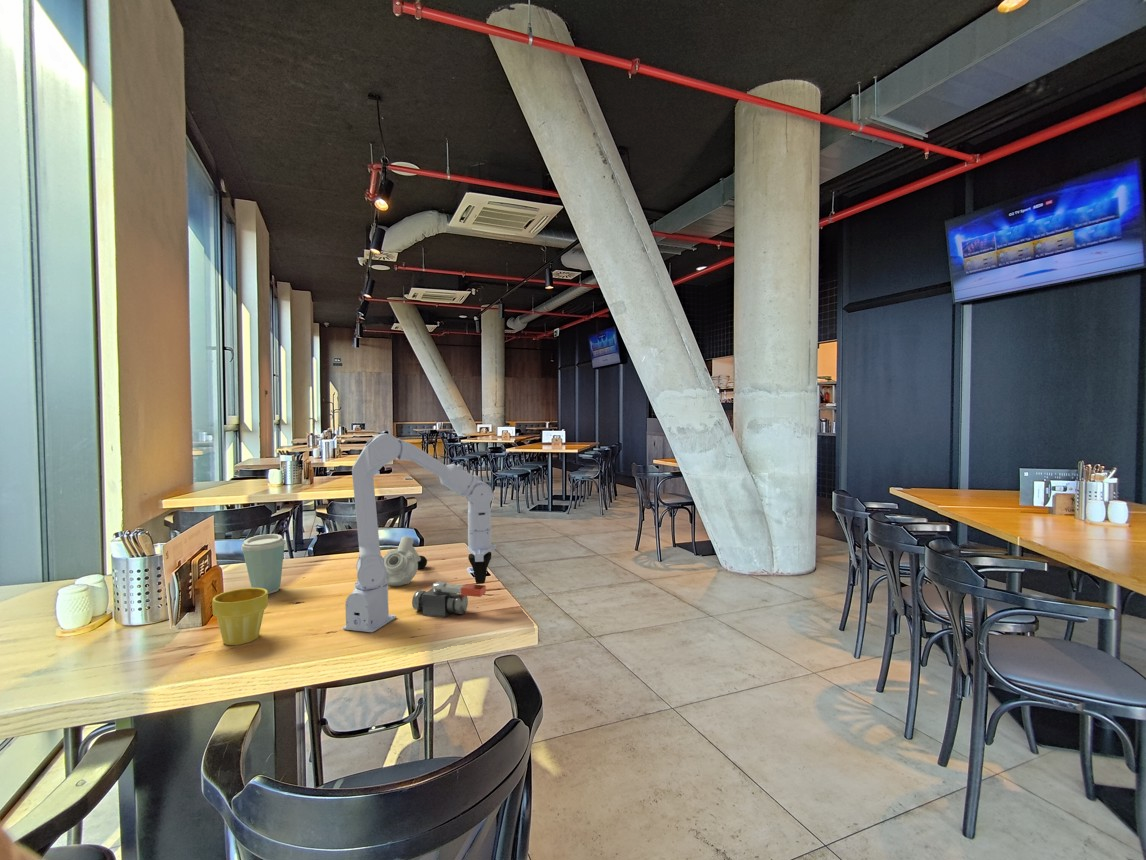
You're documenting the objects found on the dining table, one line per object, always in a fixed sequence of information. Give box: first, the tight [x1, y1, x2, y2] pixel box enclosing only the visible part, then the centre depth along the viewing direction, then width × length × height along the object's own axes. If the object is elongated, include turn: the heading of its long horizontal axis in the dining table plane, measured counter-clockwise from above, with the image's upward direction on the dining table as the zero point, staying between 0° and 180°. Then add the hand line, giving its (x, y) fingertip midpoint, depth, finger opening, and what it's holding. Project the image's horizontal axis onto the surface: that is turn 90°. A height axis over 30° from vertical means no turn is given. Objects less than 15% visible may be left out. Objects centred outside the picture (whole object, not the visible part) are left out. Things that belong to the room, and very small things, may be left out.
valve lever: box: [432, 580, 487, 598], centre depth 132 cm, size 13×3×2 cm, turn 74°
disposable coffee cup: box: [240, 533, 286, 595], centre depth 150 cm, size 11×11×15 cm
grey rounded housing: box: [382, 536, 428, 587], centre depth 162 cm, size 10×20×15 cm
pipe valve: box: [411, 588, 469, 618], centre depth 133 cm, size 6×13×5 cm, turn 74°
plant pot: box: [211, 587, 269, 646], centre depth 118 cm, size 10×10×10 cm
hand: (480, 582), depth 136 cm, fingers closed
